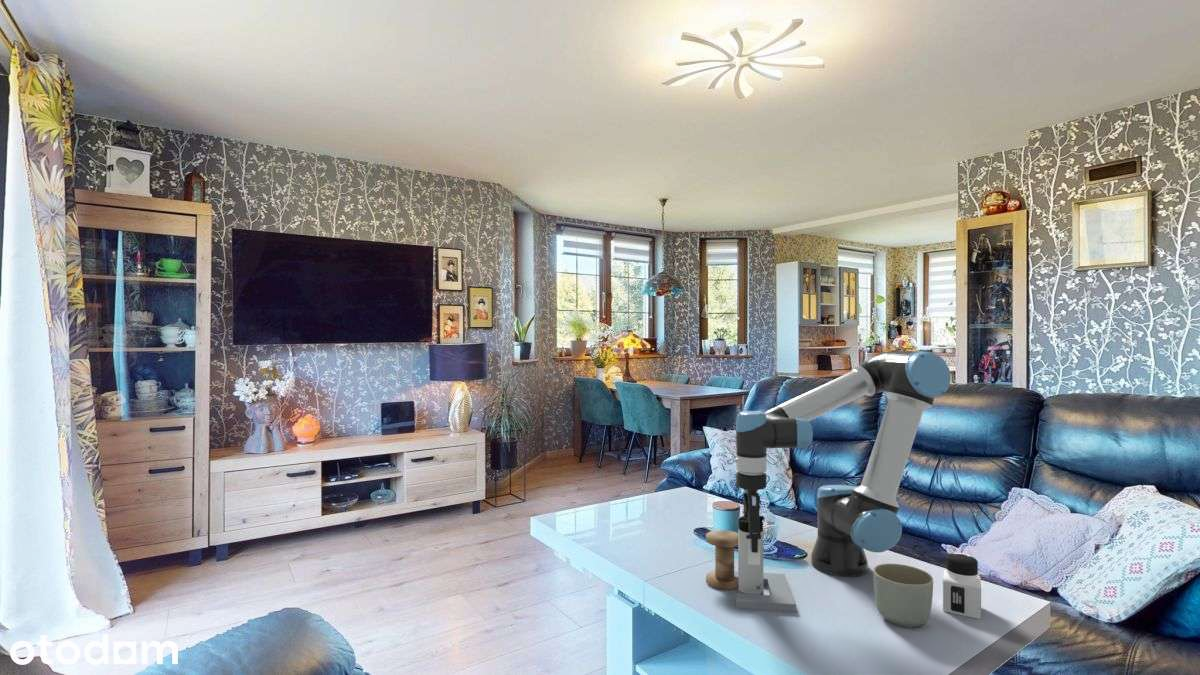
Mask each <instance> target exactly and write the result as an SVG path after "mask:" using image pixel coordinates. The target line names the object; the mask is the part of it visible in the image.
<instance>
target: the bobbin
mask: <svg viewBox="0 0 1200 675" xmlns="http://www.w3.org/2000/svg"><path fill="white" fill-rule="evenodd" d="M705 541H706V543H708V544H709V545H711V546H714V547H715V548H714V549H715V551H714V552H715V555H714V556H715V560H714V562H715V563H714V564H715V566H714V567H715V569H714V570H712V571H709V572H707V574H706V575H705V582H706V585H708V586H709V587H711V588H714V589H717V590H721V591H736V590H738V587H739V585H738V580H734V571H735V548H738V532H737V531H732V530H727V529H726V530H724V529H719V530H718V529H717V530H711V531H708V532H706V534H705Z"/></svg>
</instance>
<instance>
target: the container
mask: <svg viewBox="0 0 1200 675" xmlns="http://www.w3.org/2000/svg"><path fill="white" fill-rule="evenodd" d="M945 557H946V558H945V569H944V570H943V577H942V611H943V612H945V613H949V614H955V615H959V616H963V617H968V618H974V619H976V620H977V619H978V620H981V619H982V580H981V575H979V561H978V560H977V559H976V558H975V557H974V556H972V555H969V554H967V553H962V552H952V553H948V554H947V555H946V556H945Z"/></svg>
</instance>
